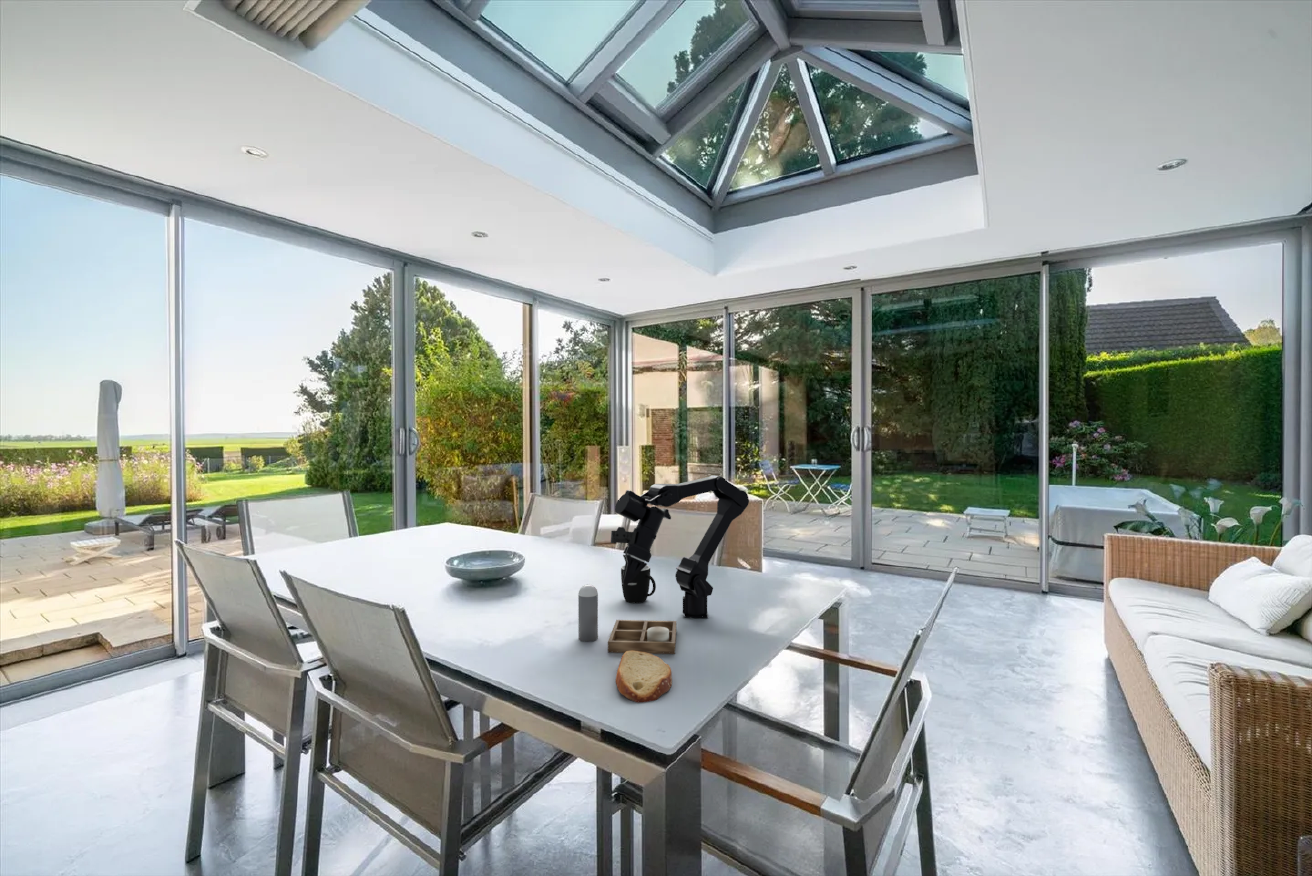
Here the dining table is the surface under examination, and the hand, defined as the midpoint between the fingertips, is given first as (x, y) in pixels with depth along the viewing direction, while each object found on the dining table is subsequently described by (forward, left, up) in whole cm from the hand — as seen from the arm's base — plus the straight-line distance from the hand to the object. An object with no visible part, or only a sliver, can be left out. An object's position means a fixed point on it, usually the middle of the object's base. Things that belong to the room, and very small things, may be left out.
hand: (623, 584), depth 148 cm
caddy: (-6, +8, -12) cm, 15 cm away
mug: (-2, -25, -12) cm, 28 cm away
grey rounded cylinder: (+8, +7, -12) cm, 16 cm away
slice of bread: (-7, +29, -12) cm, 32 cm away
